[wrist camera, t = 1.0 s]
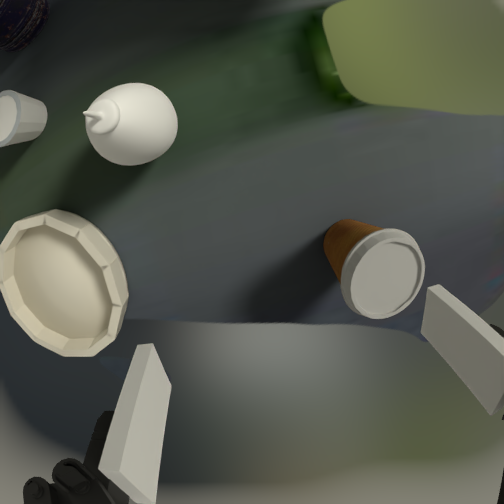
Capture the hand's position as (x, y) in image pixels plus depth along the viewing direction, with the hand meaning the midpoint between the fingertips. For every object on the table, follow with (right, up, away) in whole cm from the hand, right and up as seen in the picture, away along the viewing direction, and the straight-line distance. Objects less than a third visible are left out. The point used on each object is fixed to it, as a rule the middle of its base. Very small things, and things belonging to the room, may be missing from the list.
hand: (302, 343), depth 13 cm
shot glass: (-31, +22, +16) cm, 41 cm away
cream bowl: (-29, 0, +23) cm, 37 cm away
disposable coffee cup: (+10, +5, +25) cm, 28 cm away
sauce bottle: (-14, +18, +19) cm, 29 cm away
